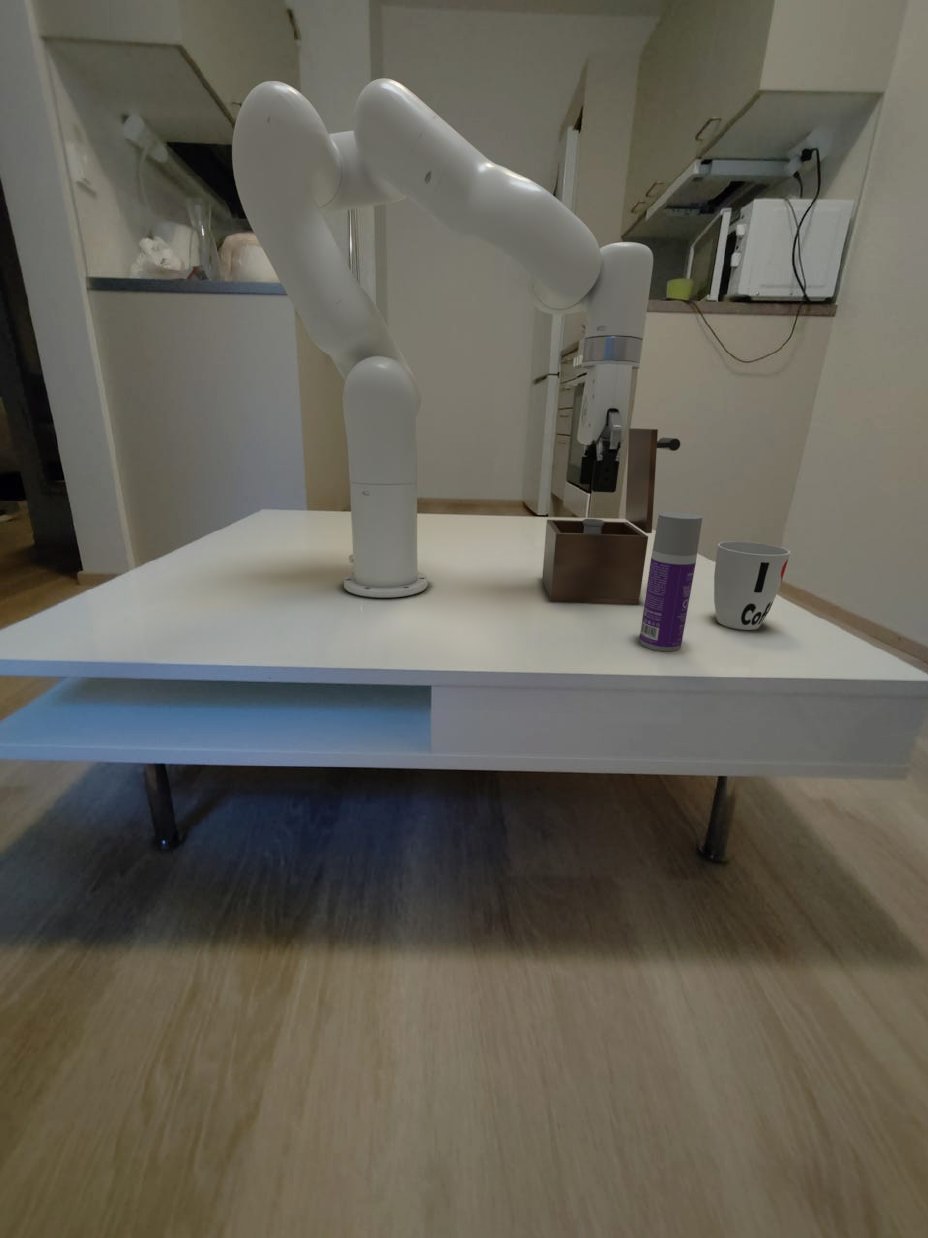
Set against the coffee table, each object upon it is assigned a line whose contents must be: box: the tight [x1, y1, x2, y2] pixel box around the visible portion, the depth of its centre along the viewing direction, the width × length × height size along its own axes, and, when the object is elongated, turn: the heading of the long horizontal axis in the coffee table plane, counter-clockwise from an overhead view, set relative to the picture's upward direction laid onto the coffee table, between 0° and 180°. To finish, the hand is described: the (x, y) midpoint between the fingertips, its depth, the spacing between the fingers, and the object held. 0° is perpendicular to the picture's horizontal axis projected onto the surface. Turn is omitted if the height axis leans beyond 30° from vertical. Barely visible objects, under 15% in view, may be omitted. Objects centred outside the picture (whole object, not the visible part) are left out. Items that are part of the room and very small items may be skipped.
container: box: [638, 511, 703, 652], centre depth 61 cm, size 5×5×15 cm
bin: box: [541, 519, 649, 605], centre depth 82 cm, size 13×12×10 cm
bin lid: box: [624, 427, 681, 534], centre depth 77 cm, size 13×12×5 cm
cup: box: [713, 541, 791, 631], centre depth 70 cm, size 8×8×10 cm
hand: (596, 487), depth 78 cm, fingers open, 9 cm apart
